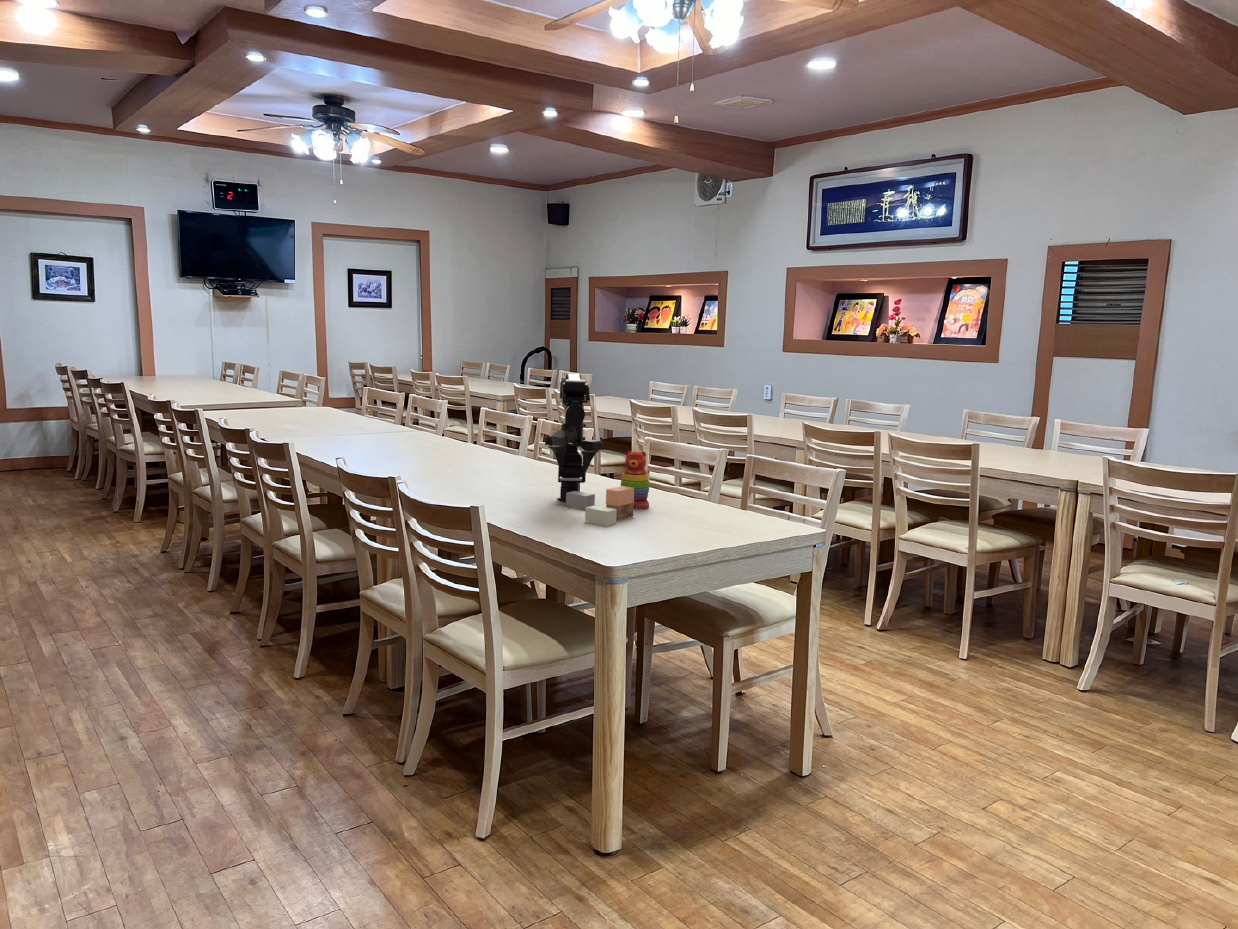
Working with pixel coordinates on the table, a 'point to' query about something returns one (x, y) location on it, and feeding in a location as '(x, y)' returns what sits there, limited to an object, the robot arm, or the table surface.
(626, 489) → the terracotta block
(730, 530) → the table surface
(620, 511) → the walnut block
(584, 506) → the slate block
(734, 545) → the table surface
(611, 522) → the sage block
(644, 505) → the stacking bear
